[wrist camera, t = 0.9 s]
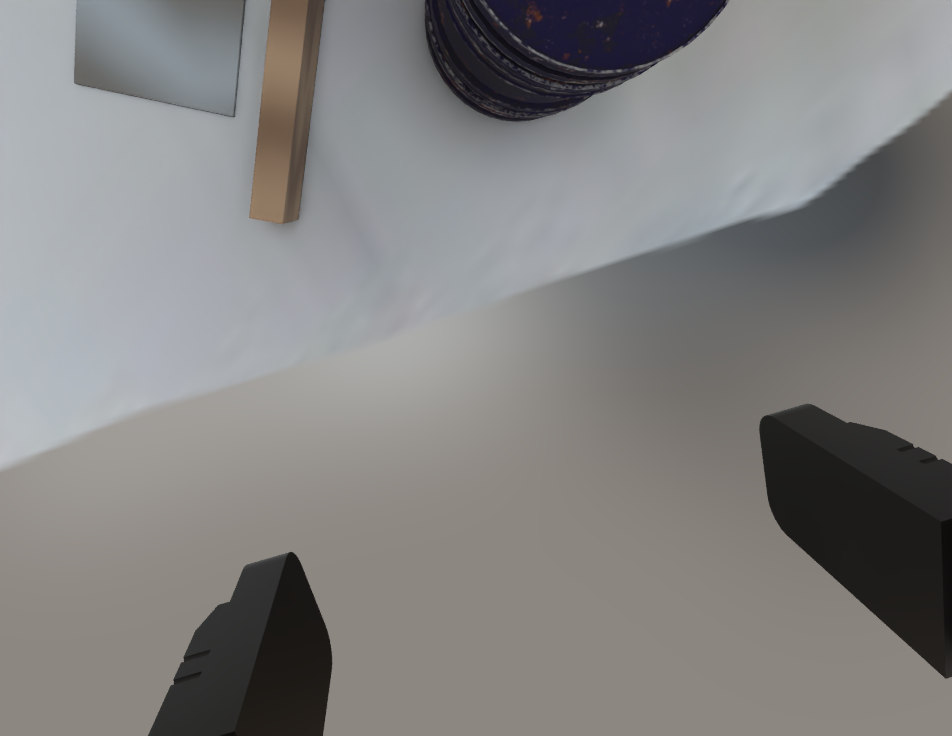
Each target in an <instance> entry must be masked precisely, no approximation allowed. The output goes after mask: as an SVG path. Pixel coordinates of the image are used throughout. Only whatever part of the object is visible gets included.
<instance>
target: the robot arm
mask: <svg viewBox="0 0 952 736" xmlns="http://www.w3.org/2000/svg"><path fill="white" fill-rule="evenodd" d="M759 431H760V440H761V448H762V456H763V464H764V472H765V479H766V487H767V495H768V501H769V505H770V508H771V511H772V513H773V515H774V518H775V520H776V521H777V523H778V525H779V526H780V528H781V529H782V530H783V531H784V533H785V534H786V535H787V536H788V537H789V538H791V539H792V540H793V541H794V542H795V543H796V544H797V545H798V546H799V547H801V548H802V549H803V550H804V551H805V552H806V553H807V554H808V555H809V556H811V557H812V558H813V559H814V560H815V561H816V562H817V563H818V564H819V565H820V566H822V567H823V568H824V569H825V570H826V571H827V572H828V573H829V574H830V575H832V576H833V577H834V578H835V579H836V580H837V581H838V582H839V583H840V584H841V585H843V586H844V587H845V588H846V589H847V590H848V591H849V592H851V593H852V594H853V595H854V596H855V597H856V598H857V599H858V600H859V601H860V602H861V603H863V604H864V605H865V606H866V607H867V608H868V609H869V610H870V611H871V612H873V613H874V614H875V615H876V616H877V617H878V618H879V619H880V620H882V621H883V622H884V623H885V624H886V625H887V626H888V627H889V628H890V629H891V630H892V631H894V632H895V633H896V634H897V635H898V636H899V637H900V638H901V639H902V640H903V641H905V642H906V643H907V644H908V645H909V646H910V647H911V648H912V649H913V650H915V651H916V652H917V653H918V654H919V655H920V656H921V657H922V658H924V659H925V660H926V661H927V662H928V663H929V664H930V665H931V666H932V667H933V668H934V669H936V670H937V671H938V672H939V673H940V674H941V675H942V676H943V677H944V678H949V677H952V464H951V463H949V462H947V461H945V460H943V459H941V460H938V459H937V458H936V456H935V455H933V454H931V453H929V452H927V451H925V450H923V449H921V448H919V447H917V448H914V447H913V444H911V443H909V442H907V441H906V440H904V439H901V438H900V437H898V436H896V435H893V434H892V433H890V432H888V431H885V430H882V429H878V428H873V427H869V426H865V425H861V424H856V423H852V422H849V423H845V422H844V421H842V420H840V419H838V418H837V417H835V416H833V415H831V414H829V413H827V412H825V411H823V410H822V409H820V408H818V407H816V406H814V405H812V404H804V405H801V406H798V407H794V408H791V409H787V410H784V411H780V412H777V413H773V414H770V415H766V416H764V417H763V418H762V419H761V421H760V428H759ZM331 671H332V651H331V644H330V639H329V635H328V631H327V629H326V625H325V623H324V620H323V618H322V615H321V613H320V610H319V608H318V605H317V603H316V601H315V598H314V595H313V593H312V590H311V588H310V585H309V583H308V580H307V578H306V575H305V572H304V570H303V568H302V565H301V563H300V561H299V559H298V557H297V556H296V555H295V554H294V553H293V552H289V553H286V554H282V555H279V556H276V557H272V558H268V559H265V560H261V561H258V562H254V563H251V564H248V565H246V566H245V567H244V569H243V571H242V573H241V576H240V578H239V581H238V583H237V586H236V588H235V591H234V593H233V596H232V598H231V600H230V602H227V603H224V604H220V605H218V606H217V607H216V608H215V610H214V611H213V612H212V613H211V614H210V615H209V616H208V617H207V619H206V620H205V621H204V622H203V623H202V624H201V626H200V627H199V628H198V629H197V630H196V631H195V633H194V635H193V638H192V640H191V642H190V644H189V646H188V649H187V651H186V653H185V655H184V662H182V663H181V664H180V667H179V669H178V671H177V673H176V675H175V677H174V685H171V686H170V688H169V691H168V693H167V695H166V697H165V699H164V702H163V704H162V706H161V708H160V711H159V713H158V715H157V717H156V719H155V722H154V724H153V726H152V728H151V730H150V733H149V735H148V736H323V730H324V723H325V716H326V709H327V701H328V693H329V687H330V679H331Z"/></svg>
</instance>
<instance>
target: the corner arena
mask: <svg viewBox="0 0 952 736" xmlns="http://www.w3.org/2000/svg"><path fill="white" fill-rule="evenodd" d="M324 3H325V0H271V10H270V20H269V30H268V40H267V50H266V59H265V69H264V79H263V89H262V99H261V108H260V118H259V128H258V138H257V148H256V158H255V167H254V177H253V187H252V197H251V207H250V216H249V218H252V219H258V220H263V221H269V222H274V223H279V224H285V223H288V222H291V221H294V220H298V218H299V210H300V201H301V193H302V185H303V177H304V168H305V160H306V152H307V143H308V135H309V127H310V119H311V110H312V102H313V94H314V85H315V77H316V69H317V61H318V52H319V44H320V36H321V27H322V19H323V11H324ZM244 9H245V0H77V9H76V40H75V70H74V83H76V84H80V85H85V86H89V87H94V88H99V89H104V90H108V91H113V92H118V93H123V94H127V95H132V96H137V97H142V98H146V99H151V100H156V101H161V102H165V103H170V104H175V105H180V106H184V107H189V108H194V109H199V110H203V111H208V112H213V113H218V114H222V115H227V116H232V117H235V107H236V96H237V85H238V74H239V63H240V53H241V42H242V31H243V20H244Z"/></svg>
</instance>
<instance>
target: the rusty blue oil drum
mask: <svg viewBox="0 0 952 736" xmlns="http://www.w3.org/2000/svg"><path fill="white" fill-rule="evenodd" d="M728 2H729V0H425V9H426V10H425V26H426V37H427V41H428V45H429V49H430V53H431V56H432V58H433V61H434V63H435V66H436V68H437V70H438V71H439V73H440V75H441V77H442V78H443V80H444V82H445V83H446V84H447V85H448V87H449V88H450V89H451V90H452V92H453V93H454V94H455V95H456V96H457V97H459V98H460V99H461V100H462V101H463V102H464V103H465V104H467V105H468V106H470V107H471V108H473V109H474V110H476V111H478V112H480V113H482V114H484V115H487V116H489V117H492V118H496V119H500V120H505V121H529V120H534V119H538V118H542V117H545V116H549V115H553V114H556V113H559V112H561V111H564V110H567V109H569V108H572V107H574V106H576V105H578V104H580V103H582V102H583V101H585V100H586V99H588V98H589V97H591V96H592V95H594V94H598V93H602V92H604V91H607V90H609V89H611V88H614V87H616V86H618V85H620V84H622V83H623V82H625V81H627V80H629V79H631V78H634V77H636V76H638V75H640V74H642V73H643V72H645V71H646V70H648V69H649V68H651V67H652V66H654V65H655V64H657V63H658V62H660V61H661V60H663V59H665V58H667V57H670V56H671V55H673V54H674V53H676V52H677V51H679V50H680V49H682V48H683V47H685V46H687V45H688V44H690V43H691V42H692V41H693V40H694V39H695V38H696V37H698V36H699V35H700V34H701V33H702V32H703V31H704V30H705V29H707V28H708V27H709V26H710V24H711V23H712V22H713V21H714V20H715V18H716V17H717V16H718V15H719V14H720V12H721V11H722V10H723V9H724V8H725V6H726V5H727V3H728Z"/></svg>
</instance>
